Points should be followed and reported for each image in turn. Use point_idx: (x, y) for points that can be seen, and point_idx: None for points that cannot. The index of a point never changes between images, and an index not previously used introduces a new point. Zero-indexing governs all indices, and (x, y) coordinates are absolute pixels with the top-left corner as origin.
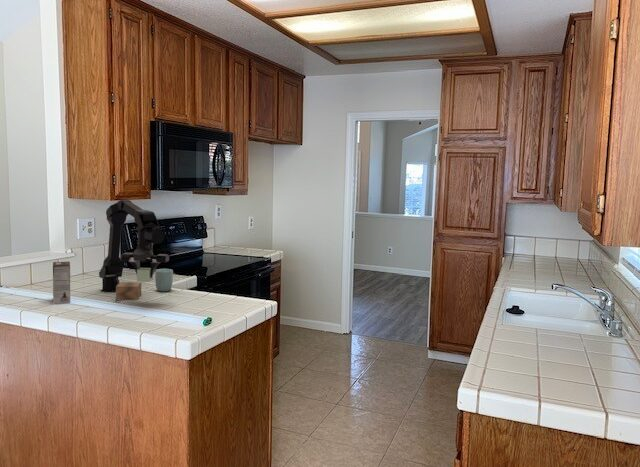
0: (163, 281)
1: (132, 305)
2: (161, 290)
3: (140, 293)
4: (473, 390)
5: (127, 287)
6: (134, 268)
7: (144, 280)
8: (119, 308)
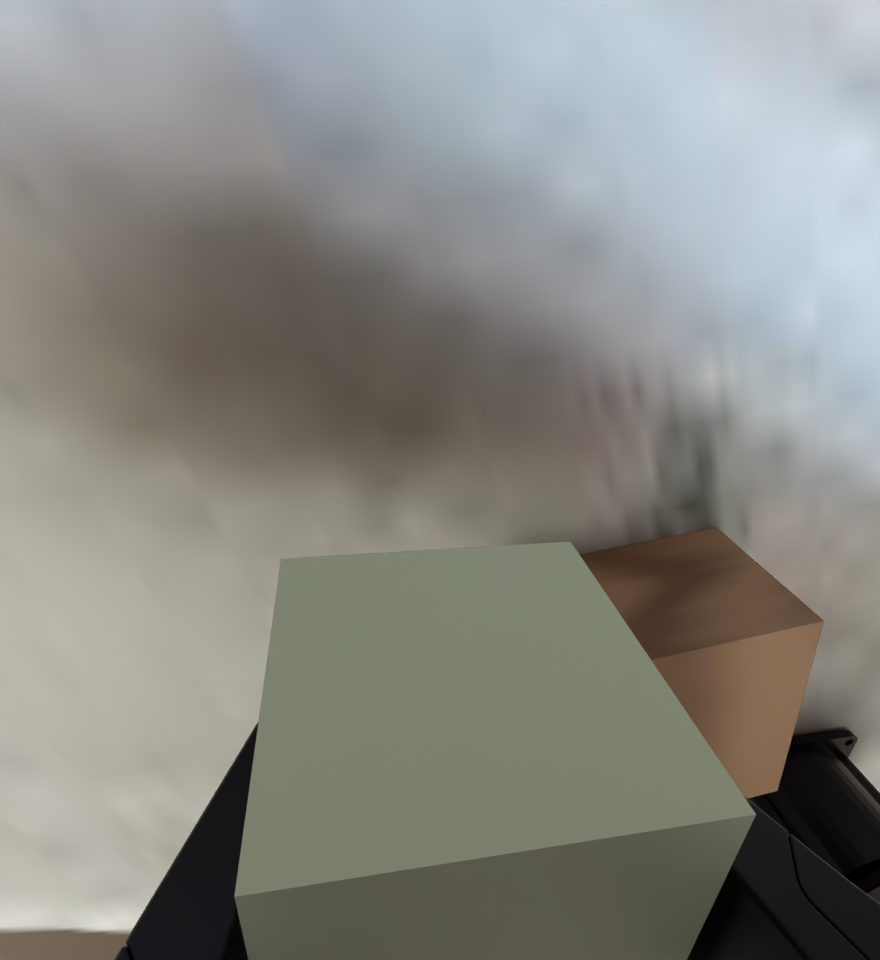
0: None
1: (493, 305)
2: None
3: None
4: None
5: (679, 641)
6: (858, 889)
7: (398, 572)
8: (623, 104)
